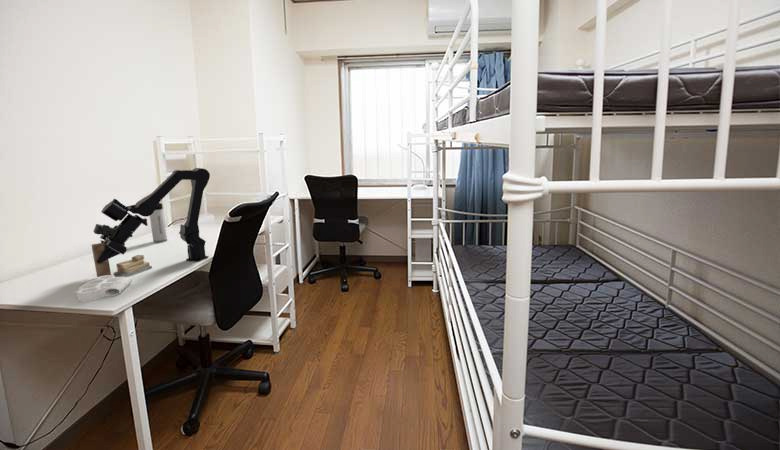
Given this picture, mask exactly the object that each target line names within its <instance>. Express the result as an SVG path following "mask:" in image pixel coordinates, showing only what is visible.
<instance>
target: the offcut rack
mask: <svg viewBox="0 0 780 450" xmlns="http://www.w3.org/2000/svg"><path fill="white" fill-rule="evenodd" d="M144 260H145V255H144V254H137V255H133V256H131V259H128V260H125V261H122V262H118V263H116V265H115V266H116V269H117V271H114V272H113V274H112V275H114V276H115V277H131V276H134V275H136V274H139V273H142V272H145V271H148V270H151V269H153V265H150V262H149V261H144Z"/></svg>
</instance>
